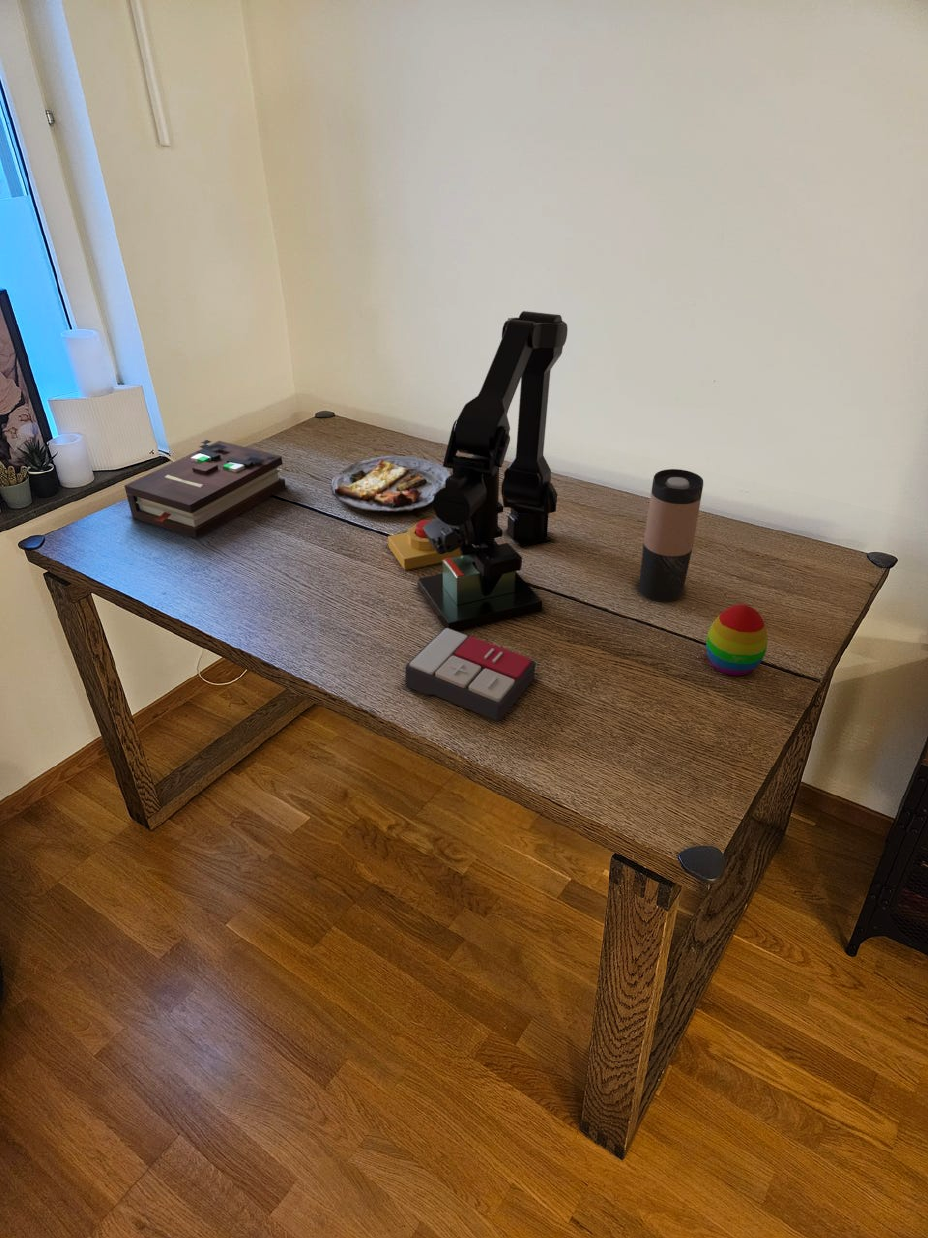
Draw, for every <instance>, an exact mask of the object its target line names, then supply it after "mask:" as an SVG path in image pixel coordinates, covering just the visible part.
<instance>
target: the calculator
mask: <svg viewBox="0 0 928 1238" xmlns="http://www.w3.org/2000/svg"><path fill="white" fill-rule="evenodd" d="M536 664H537V663H536V661H534V660H533V659H531V657H527V656H524V655H522V654H520V653H516V652H514V651H513V650H512V651H511V650H508V649H506V648H503V647H501V646H499V645H496V644H493V643H490V642H488V641H485V640H483V639H480V638H477V637H476V636H470V635H467V634H465V633H462V632H460V631H458V632H456V631H454V630H451V629H449V628H445V627H444V628H442V629H441V631H439V632H438V633H437V634H436V635H435V636H434V637H433V638H432V639H431V640H430V641H429V642H428V643H427V644H426V645H425V646H424V647H423V648H422V649H421V650H420V651H419V652H418V653H417V654H416V655H415V656H414V657H413V658H411V660H410V661H408V662H407V664H405V668H404V669H405V671H404V672H405V673H404V674H405V676H404V677H405V678H404V680H405V681H404V683H405V687H407V688H408V689H412V690H413V691H416V692H419V693H421V694H423V695H426V696H430V695H433V696H436V697H439V698H440V699H443V700H446V701H447V702H450V703H453V704H455V705H458V706H460V707H462V708H464V709H467V710H469V711H471V712H474V713H476V714H478V715H481V716H484V717H486V718H488V719H490V720H493V721H496V722H501V720H502V719H503V718H504V716H505V715H506V714H507V713H508V712H509V711H510V709H511V708H512V706H513V705H514V704H515V703H516V702H517V700H518V699H519V698H520V697H521V696H522V694H523V693H524V692H525V690H526V689H527V688H528V686H529V685H530V684H531V683H532V682H533V680H534V679H535V672H536Z"/></svg>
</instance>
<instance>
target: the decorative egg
mask: <svg viewBox="0 0 928 1238" xmlns="http://www.w3.org/2000/svg"><path fill="white" fill-rule="evenodd" d="M705 643H706V644H705V648H706V654H707V657H708V659H709V662H710V663H711V664H712V666H713V667H714V668H715V669H716V670H717V671H718V672H720V673H722V674H726V675H729V676H734V677H735V676H736V677H737V676H738V677H739V676H744V675H748V674H749V673H751V672H752V671H754V670H755V669H757V667H758V666H759V665H760V664H761V663H762V661H763V659H764V657H765V655H766V653H767V649H768V631H767V627H766V624H765V621H764V619H763V617H762V616H761V614H760V613H759V612H758V611H757V610H756V609H755V608H754V607H752V606H750V605H749V604H741V603H740V604H734V605H732V606H729V607H728V608H727V609H725V610H723V611H722V612H721V613H719V615H718V616H717V617H716V618H715V619H714V620H713V622H712V624H711V626H710V627H709V629H708V633H707V636H706V641H705Z"/></svg>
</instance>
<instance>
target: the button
mask: <svg viewBox="0 0 928 1238" xmlns="http://www.w3.org/2000/svg"><path fill="white" fill-rule="evenodd" d="M431 521H433V520H432V519H423V520H420V521H418V522H416V524H415V525H416V535H417V536H418V537H420V538H427V535H426V533H425V531H424V526H425V525H426V524H427V523H429V522H431Z"/></svg>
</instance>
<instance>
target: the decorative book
mask: <svg viewBox="0 0 928 1238" xmlns="http://www.w3.org/2000/svg"><path fill="white" fill-rule="evenodd" d="M210 443H212V441H211V440H208V439H205V440H202V441H200V444H202V445H200V446H198V448H201V449H199V450H196V451H194V452H192V453H190V454H188V455H186V456H184V457H182V458H180V459H177V460H175V461H172V462H171V463H169V464H166V465H164V466H162V467H160V468H158V469H156V470H153V471H152V472H150V473H147V474H145V475H143V476H141V477H139V478H137V479H135V480H133V481H130V482H129V483H126V484H124V486H123V487H124V491H125V494H126V498H127V502H128V506H129V509H130V514H131V517H132V518H133V519H136V520H139V521H142V522H145V523H148V524H151V525H155V526H158V527H161V528H164V529H167V530H170V531H173V532H176V533H180V534H183V535H186V536H189V537H192V538H195V539H199V538H200V537H202V536H203V535H205V534H206V533H209V532H210V531H212V530H214V529H215V528H217V527H219V526H221V525H222V524H224V523H226V522H227V521H229V520H231V519H233V518H234V517H236V516H238V515H240V514H241V513H243V512H245V511H247V510H248V509H250V508H252V507H254V506H255V505H257V504H258V503H261V502H262V501H264V500H265V499H267V498H269V497H271V496H273V495H274V494H276V493H278V492H279V491H281V490H283V489H284V488H286V486H287V485H286V479H285V478H281V477H279V472H281V471H283V468H280V466H282V465H283V464H284V463H283V456H281V455H278V454H274V453H270V452H267V451H261V450H259V449H254V448H250V447H247V446H242V445H238V444H234V443H230V442H226V441H222V440H217V441H215V442H213V443H212V444H210ZM208 444H209V445H208Z"/></svg>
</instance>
